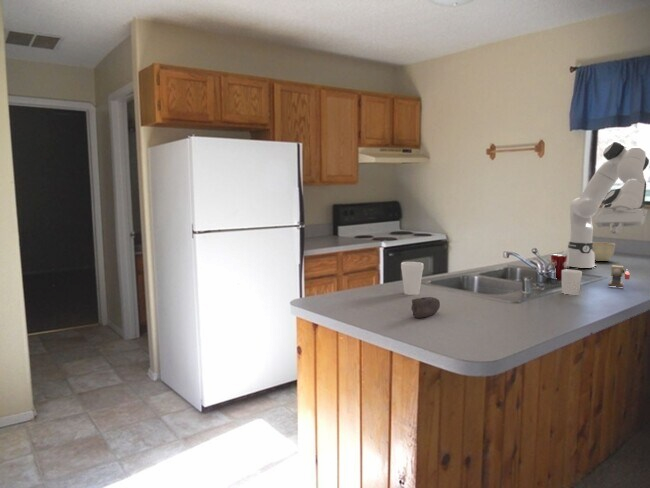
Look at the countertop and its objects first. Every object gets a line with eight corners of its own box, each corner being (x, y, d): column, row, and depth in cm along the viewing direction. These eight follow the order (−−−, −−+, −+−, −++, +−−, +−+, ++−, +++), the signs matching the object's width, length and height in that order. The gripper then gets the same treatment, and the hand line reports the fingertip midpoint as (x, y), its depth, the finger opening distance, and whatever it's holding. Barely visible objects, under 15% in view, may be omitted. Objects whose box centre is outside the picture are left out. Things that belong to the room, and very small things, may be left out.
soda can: (550, 279, 244) (552, 255, 242) (548, 277, 251) (550, 253, 249) (566, 280, 242) (568, 256, 240) (564, 277, 249) (565, 254, 247)
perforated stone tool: (433, 311, 185) (434, 292, 184) (445, 314, 181) (445, 295, 180) (406, 317, 175) (406, 298, 174) (417, 321, 171) (418, 301, 170)
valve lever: (624, 268, 228) (625, 273, 214) (628, 268, 227) (629, 274, 214) (624, 273, 228) (624, 279, 215) (628, 274, 227) (629, 279, 214)
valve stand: (609, 283, 235) (610, 264, 234) (623, 284, 232) (624, 265, 231) (608, 287, 226) (610, 267, 225) (623, 288, 224) (624, 268, 223)
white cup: (585, 295, 211) (586, 271, 209) (571, 296, 208) (572, 273, 206) (569, 291, 218) (571, 268, 217) (556, 292, 215) (557, 270, 214)
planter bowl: (614, 260, 304) (616, 242, 303) (613, 264, 291) (615, 245, 289) (585, 258, 313) (586, 241, 312) (582, 261, 299) (584, 243, 298)
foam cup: (397, 294, 212) (398, 264, 210) (404, 290, 220) (405, 261, 218) (419, 296, 207) (419, 266, 206) (425, 292, 216) (426, 262, 214)
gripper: (651, 212, 218) (641, 237, 214) (605, 214, 236) (594, 236, 231) (646, 203, 215) (635, 228, 211) (599, 205, 233) (588, 228, 229)
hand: (613, 232), depth 221 cm, fingers closed
